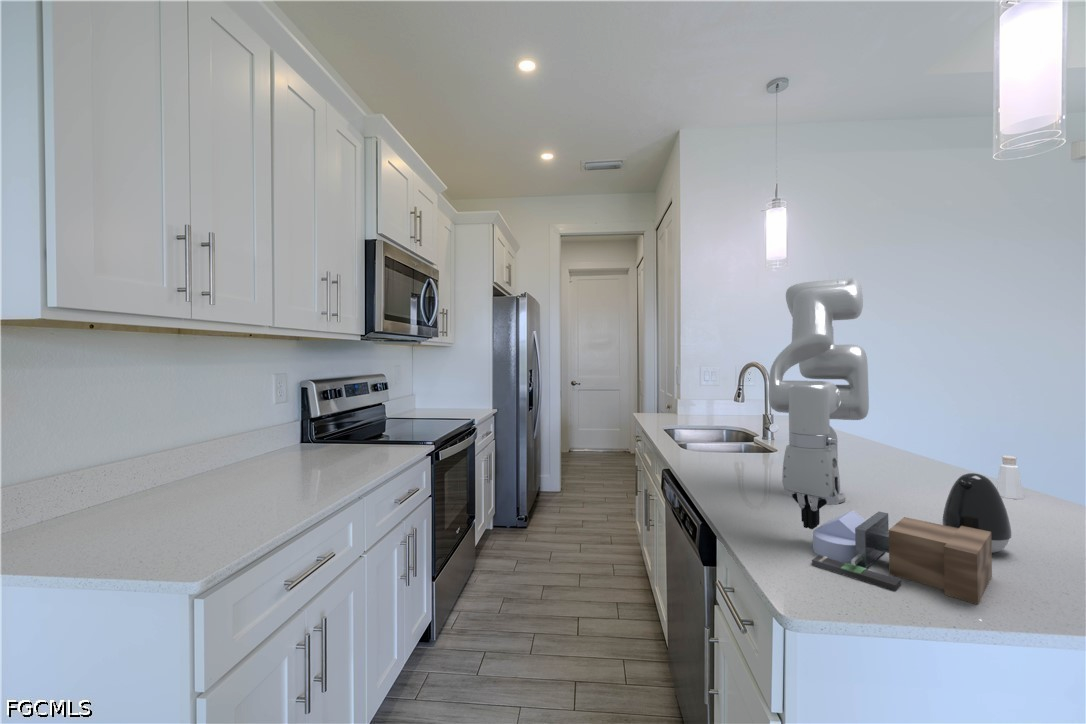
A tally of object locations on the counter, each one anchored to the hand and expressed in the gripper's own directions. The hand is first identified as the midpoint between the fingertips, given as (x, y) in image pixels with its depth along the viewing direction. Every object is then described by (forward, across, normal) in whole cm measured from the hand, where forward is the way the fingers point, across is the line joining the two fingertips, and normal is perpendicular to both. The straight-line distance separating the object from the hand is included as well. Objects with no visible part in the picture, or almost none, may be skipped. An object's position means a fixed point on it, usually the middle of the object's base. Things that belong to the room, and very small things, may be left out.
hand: (810, 526), depth 97 cm
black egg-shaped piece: (+3, -23, -21) cm, 31 cm away
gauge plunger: (+3, -15, +2) cm, 16 cm away
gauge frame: (+3, -16, +2) cm, 16 cm away
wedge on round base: (+4, -6, -1) cm, 7 cm away
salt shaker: (+3, -23, -72) cm, 76 cm away
